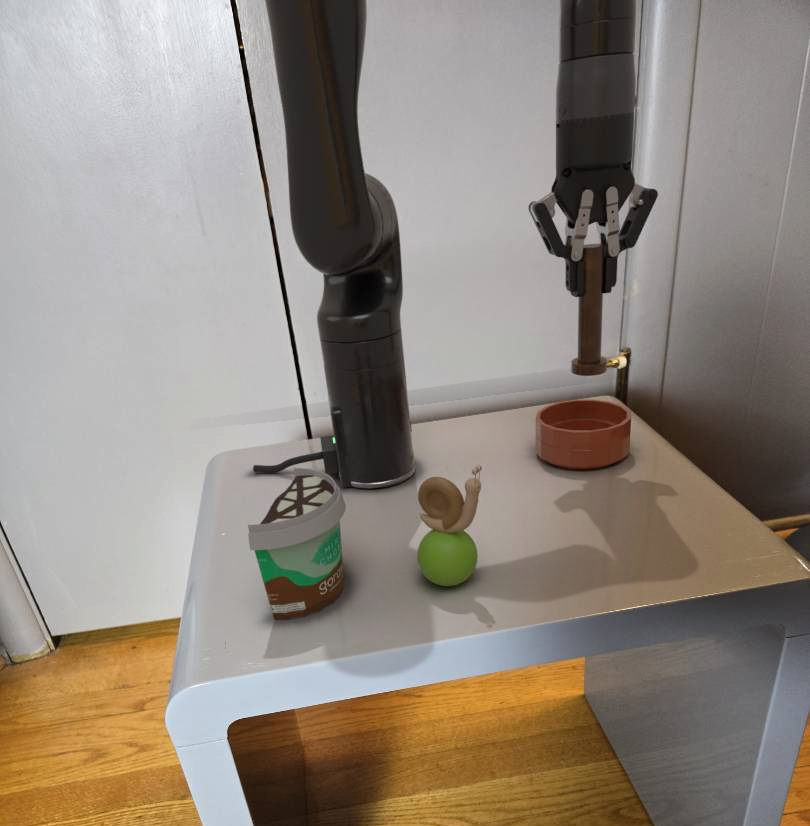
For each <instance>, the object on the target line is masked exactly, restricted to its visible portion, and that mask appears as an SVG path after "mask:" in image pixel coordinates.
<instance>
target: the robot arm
mask: <svg viewBox="0 0 810 826" xmlns="http://www.w3.org/2000/svg"><path fill="white" fill-rule="evenodd" d="M264 5H265V10H266V16H267V20H268V27H269V32H270V39H271V46H272V53H273V60H274V67H275V74H276V80H277V85H278V93H279V99H280V104H281V109H282V117H283V124H284V134H285V136H284V137H285V146H286V147H285V148H286V162H287V180H288V181H287V182H288V183H287V184H288V201H289V215H290V225H291V231H292V235H293V239H294V242H295V244H296V247H297V248H298V250H299V252H300V254H301V256H302V257H303V259H304V260H305V261H306V262H307V263H308V264H309V265H310V266H311V267H312V268H313V269H314V270H315V271H316V272H319V273H321V274H322V276H323V290H322V297H321V301H320V304H319V306H318V309H317V312H316V324H317V332H318V337H319V343H320V349H321V350H320V351H321V355H322V363H323V371H324V377H325V384H326V390H327V397H328V398H327V400H328V401H327V402H328V406H329V413H330V419H331V420H330V421H331V425H332V426H331V427H332V434H331V435H330V434H329V435H324V436H320V438H319V439H320V446H321V451H318V452H314V453H308V454H303V455H298V456H295V457H294V456H293V457H291V458H288V459H286V460H284V461H283V462H281V463H279V464H275V465H264V464H263V465H262V464H254V465H253V467H252V469H253V473H265V474H273V473H279V472H282V471H284V470H286V469H288V468H290V467H292V466H296V465H300V464H303V463H309V462H314V461H319V460H323V466H324V473H325V474H327V475H329V474H334V473H338V477H339V480H340V485H341V488H343V489H344V488H356V489H357V488H358V489H379V488H385V487H390V486H391V487H392V486H394V485H397V484H400V483H402V482H405V481H406V480H408V479H410V478H411V477H412V476H413V475H414V474H415V472H416V462H415V457H414V454H415V453H414V449H413V448H414V447H413V437H412V432H413V431H412V421H411V417H410V416H411V415H410V405H409V395H408V384H407V375H406V364H405V352H404V344H403V343H404V342H403V332H402V331H403V330H402V322H401V321H402V320H401V309H402V305H403V304H402V303H403V298H404V297H403V296H404V290H403V289H404V285H403V268H402V267H403V265H402V251H401V237H400V236H401V234H400V225H399V217H398V212H397V208H396V205H395V202H394V199H393V197H392V194H390V192H389V190H388V188H387V187H386V186H385V184H384V183H383V182H381V181H380V180H379V178H377V177H375V176H373V175H371V174H369V173H366V171H365V167H364V166H365V165H364V161H363V153H362V147H361V140H360V139H361V138H360V131H359V129H360V128H359V111H358V109H359V94H360V93H359V92H360V84H361V76H362V68H363V59H364V53H365V45H366V44H365V43H366V35H367V34H366V33H367V23H368V21H367V20H368V19H367V18H368V16H367V15H368V13H367V11H368V10H367V7H368V5H367V0H264ZM558 16H559V17H558V67H557V68H558V69H557V72H558V73H557V79H556V87H555V178H554V182H553V183H552V185H551V190H550V192H549V193H548V194H546V195H544V196H543V197H542V198H540V199H539V200H537V201H536V200H533V201H531V202H530V203H529V204H528V207H527V209H528V212H529V215H530V216H531V219H532V220H533V222H534V224H535V227H536V228H537V231H538V233H539V235H540V237H541V239H542V242H543V244H544V246H545V247H546V250H547V252H548V253H549V254H550V255H552V256H555V257H557V258H563V259H564V262H565V282H564V285H565V288H566V291H568V292H569V293H570V295H571V296H572V297H574V298H579V297H582V296H583V283H584V261H582V260H581V258H582V253H583V246H584V245H585V240H586V238H587V235H588V229H589V226H590V225H592V224H594V223H595V225H596V226H595V227H596V231H597V233H598V239H599V244H604V277H603V295H604V294H605V295H606V294H611V293H612V289H613V288H614V287H615V286H616V284H617V281H618V279H617V278H618V258H619V256H620V254H621V253H622V252H623V251H626V250H627V249H631V248H634V247H635V246H636V244H637V242H638V240H639V239H640V236H641V234H642V231H643V229H644V227H645V225H646V222H647V220H648V218H649V216H650V214H651V212H652V209H653V208H654V205H655V203H656V201H657V199H658V197H659V193H658V190H657V189H655V188H650V187H645V186H643V185H641V184H638V183H636V179H635V176H634V173H633V171H632V161H633V151H634V150H633V149H634V129H635V128H634V127H635V126H634V125H635V108H636V104H637V95H636V85H637V83H636V82H637V80H636V79H637V78H636V67H635V49H636V48H635V46H636V45H635V44H636V28H637V27H636V24H637V20H636V19H637V0H559V15H558ZM628 198H629V201H628V204H629V206H630V207H629V210H628V211H627V214H626V217H625V219H624V221H623V223H622V226H621V227H620V215H619V213H620V211H621V209H622V208H623V206H624V205H625V203H626V201H627V200H628ZM556 204H557V206H558V208H559V209H560V210H561V211H562V213H563V215H564V216H565V218H566V220H565V227H564V235H565V240H564V242H563V240H562V237H561V236H560V235H561V234H560V233H559V230H558V228H557V226H556V224H555V222H554V220H553V218H554V216H555V215H556V209H555V205H556Z"/></svg>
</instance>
